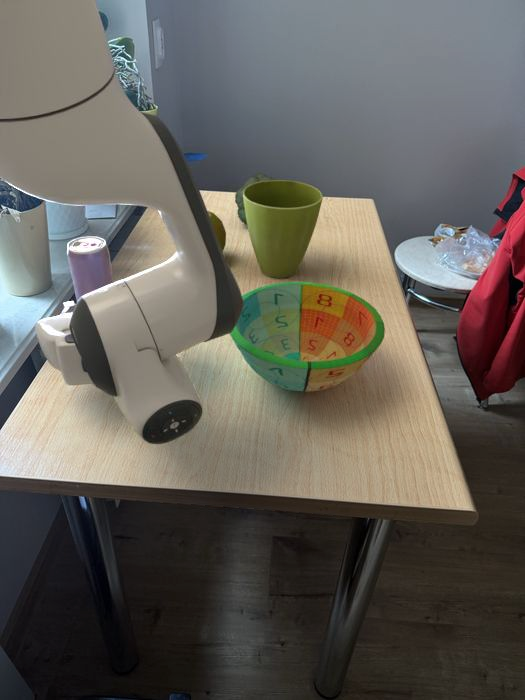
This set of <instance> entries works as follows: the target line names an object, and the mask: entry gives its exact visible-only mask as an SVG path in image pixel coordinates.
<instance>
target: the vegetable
mask: <svg viewBox="0 0 525 700" xmlns="http://www.w3.org/2000/svg"><path fill="white" fill-rule="evenodd" d="M270 180H279V179H278V178H273V177H269V176H267V175H266V174H264V173H259V172H258V173H256V174H254V175H252V176H249V177H248V179H247V180H245V181H244V183H243V184H242V186H241V187H240V188H238V190H237V191H236V192H235V196H234V202H235V204H236V206H237V217H238V220H239V221H241V223H243V224H244V225H245V226H248V225H247V220H246V214H245V206H244V199H243V191H244V189H245V188H246V187H248V186H249V185H251V184H254V183H257V182H262V181H270Z"/></svg>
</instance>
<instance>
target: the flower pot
mask: <svg viewBox="0 0 525 700" xmlns="http://www.w3.org/2000/svg"><path fill="white" fill-rule="evenodd" d="M243 199H244V206H245V214H246V220H247V225H246V226H247V229H248V234H249V239H250V242H251V245H252V249H253V252H254V256H255V259H256V262H257V265H258V266H259V269H260V271H261V273H262V274H263V275H265V276H266V277H267V276H268V277H270V278H273V279H275V278H276V279H286V278H290V277H292V276H294V275H295V274H296V273H297V271H298V269H299V267H300V265H301V263H302V261H303V260H304V257H305V255H306V253H307V250H308V247H309V246H310V243H311V241H312V237H313V235H314V232H315V228H316V225H317V221H318V218H319V215H320V210H321V207H322V203H323V199H324V195H323V193H322V192H321V191H320V189H318V188H317V187H315V186H312V185H310V184H308V183H305V182H301V181H295V180H285V179H284V180H283V179H278V180H270V181H262V182H257V183H254V184H251V185H249V186H248V187H246V188H245V189H244V191H243Z"/></svg>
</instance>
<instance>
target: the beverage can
mask: <svg viewBox="0 0 525 700" xmlns="http://www.w3.org/2000/svg"><path fill="white" fill-rule="evenodd" d="M66 248H67V251H66V254H67V260H68V265H69V270H70V275H71V279H72V284H73V290H74V294H75V299H76V302H77V301H78V300H79V298H80V297H81V296H84V295H86V294H88V293H90V292H92V291H95V290H97V289H100V288H102V287H104V286H107V285H109V284H112V283H114V282H115V281H114V276H113V269H112V262H111V255H110V250H109V247H108V245H107V241H106V240H105V239H104V238H102V237H100V236H94V235H93V236H90V235H89V236H80V237H77V238H74V239H72V240H70V241H69V242H68V243H67V245H66Z"/></svg>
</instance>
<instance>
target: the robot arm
mask: <svg viewBox="0 0 525 700" xmlns="http://www.w3.org/2000/svg"><path fill="white" fill-rule="evenodd" d="M110 47H111V46H110V44H109V40H108V36H107V34H106V31H105V28H104V24H103V21H102V18H101V15H100V11H99V9H98V5H97V2H96V0H0V179H1V180H3V181H4V182H6V183H7V184H8V185H10V186H11V187H13V188H15V189H17V190H18V191H21V192H23V193H25V194H27V195H29V196H31V197H34V198H37V199H40V200H44V201H45V202H50V203H54V204H55V203H56V204H61V205H68V206H76V207H77V206H78V207H79V206H81V207H83V206H99V205H127V206H138V207H146V208H150V209H154V210H156V211H158V213H159V216H160V217H161V220H162V221H163V223H164V226H165V228H166V230H167V232H168V234H169V236H170V238H171V240H172V242H173V244H174V247H175V249H176V252H175V253H174V254H173V256H171V257H170V258H169V259H168V260H166V261H164V262H162V263H161V264H158V265H156V266H153V267H151V268H148V269H146V270H143V271H140V272H138V273H135V274H134V275H133V274H132V275H131V276H129V277H126V278H124V279H119V280H116V281H113V282H114V283H112V284H109V285H107V286H104V287H102V288H100V289H97V290H95V291H92V292H90V293H88V294H86V295H84V296H81V297H80V298H79V300H78V301H77V300H76V303H75V300H71V301H65V302H62V306H63V308H62V310H61V312H60V313H59V315H56V316H51V317H47V318H46V317H45V318H42V319H40V320H38V321H37V322H36V323H35V324H34V330H35V334H36V338H37V341H38V345H39V347H40V349H41V352H42V353H43V356H44V357H45V359H46V360H47V362H48V363H49V364H50V366H51V367H52V368H54V369H55V370H57V371H59V372H60V374H61V376H62V378H63V380H64V383H65V384H66V385H67V386H73V387H74V386H84V385H94V386H95V388H96V389H98V390H100V391H101V392H103V393H105V394H107V395H109V396H112V397H113V398H114V400H115V403H116V404H117V406H118V408H119V410H120V412H121V413H122V415H123V416H124V419H125V420H126V421H127V423H128V424H129V425H130V427H131V428H132V429H133V431H134V432H135V433H136V435H138V437H139V438H140V439H141V440H142V441H143V442H144V443H147V444H150V445H163V444H168V443H170V442H173V441H175V440H177V439H179V438H181V437H182V436H185V435H186V434H188V433H189V432H190V431H192V430H193V429H194V428H195V427H196V426H197V425H198V423H199V422H200V420H201V418H202V416H203V413H204V406H203V402H202V399H201V396H200V393H199V391H198V390H197V387H196V385H195V383H194V381H193V378H192V377H191V375H190V373H189V372H188V370H187V368H186V366H185V365H184V363H183V362H182V360H181V359H180V358H179V357H178V356H177V354H180V353H183V352H185V351H186V350H189V349H191V348H193V347H195V346H198V345H200V344H203V343H207V342H210V341H213V340H215V339H219V338H221V337H223V336H227V335H230V334H229V333H231V332H232V331H233V329H234V328H235V326H236V324H237V322H238V320H239V317H240V315H241V312H242V309H243V299H242V295H243V294H242V291H241V288H240V285H239V282H238V280H237V278H236V276H235V274H234V272H233V271H232V269H231V267H230V266H229V264H228V261H227V259H226V257H225V254H224V251H222V249H221V246H220V244H219V241H218V238H217V236H216V233H215V230H214V228H213V225H212V222H211V220H210V217H209V214H208V212H207V211H208V209H207V207H206V203H205V201H204V197H203V196H202V194H201V191H200V189H199V186H198V184H197V181H196V178H195V176H194V174H193V171H192V169H191V167H190V164H189V162H188V160H187V158H186V155H185V154H184V152H183V150H182V148H181V146H180V143H178V141H177V138H176V137H175V136H174V134H173V133H172V131H171V130H170V128H169V127H168V125H166V124H165V123H164V122H163V120H162V119H161V118H160V117H159V116H157V115H155V114H151V113H148V112H147V113H146V112H144V111H143V112H142V111H140V110H139V109H138V108H137V107H136V106H135V105H134V104H133V103H132V101H131V99H129V97H128V96H127V94H126V93H125V90H124V88H123V86H122V83H121V81H120V79H119V76H118V73H117V69H116V66H115V61H114V58H113V54H112V51H111V48H110Z"/></svg>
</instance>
